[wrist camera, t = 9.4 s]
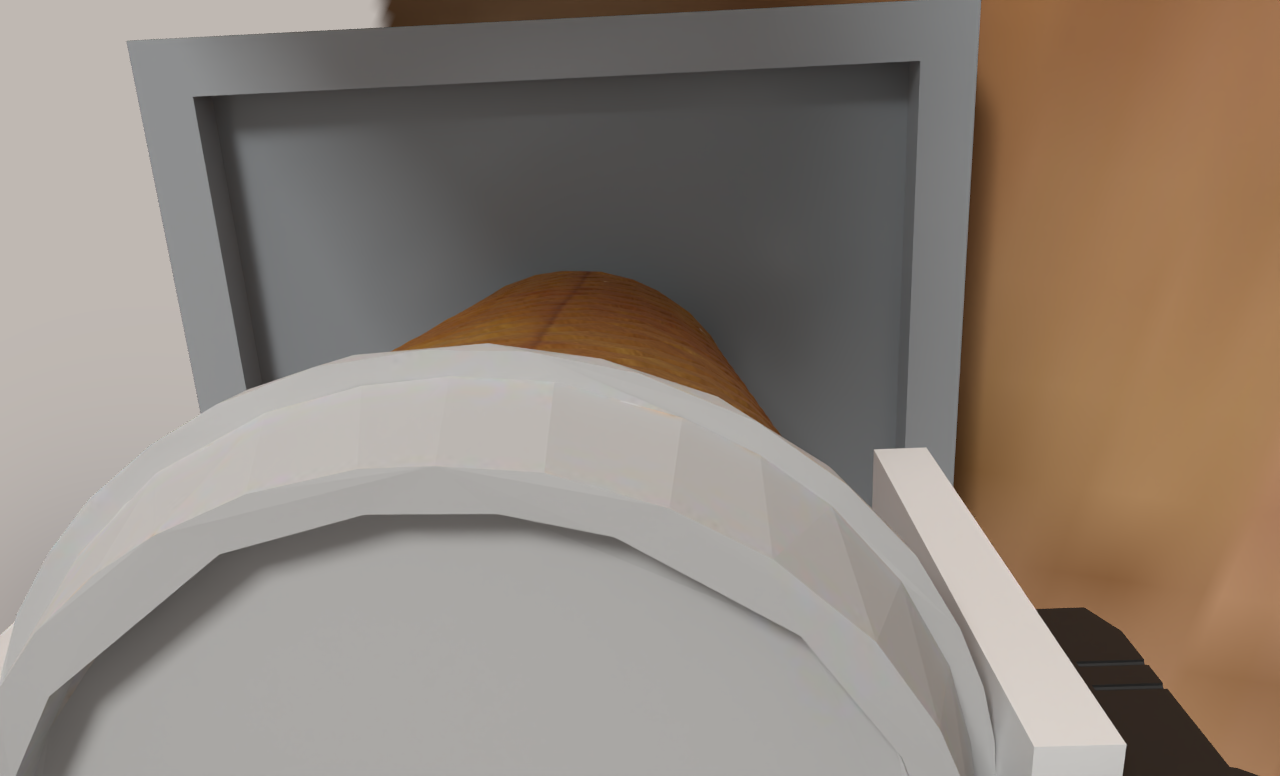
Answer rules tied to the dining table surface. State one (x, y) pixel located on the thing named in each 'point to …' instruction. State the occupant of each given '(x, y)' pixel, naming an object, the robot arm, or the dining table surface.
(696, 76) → the grey square tray
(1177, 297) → the dining table surface
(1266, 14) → the dining table surface
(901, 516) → the robot arm
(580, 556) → the disposable coffee cup
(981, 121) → the dining table surface
